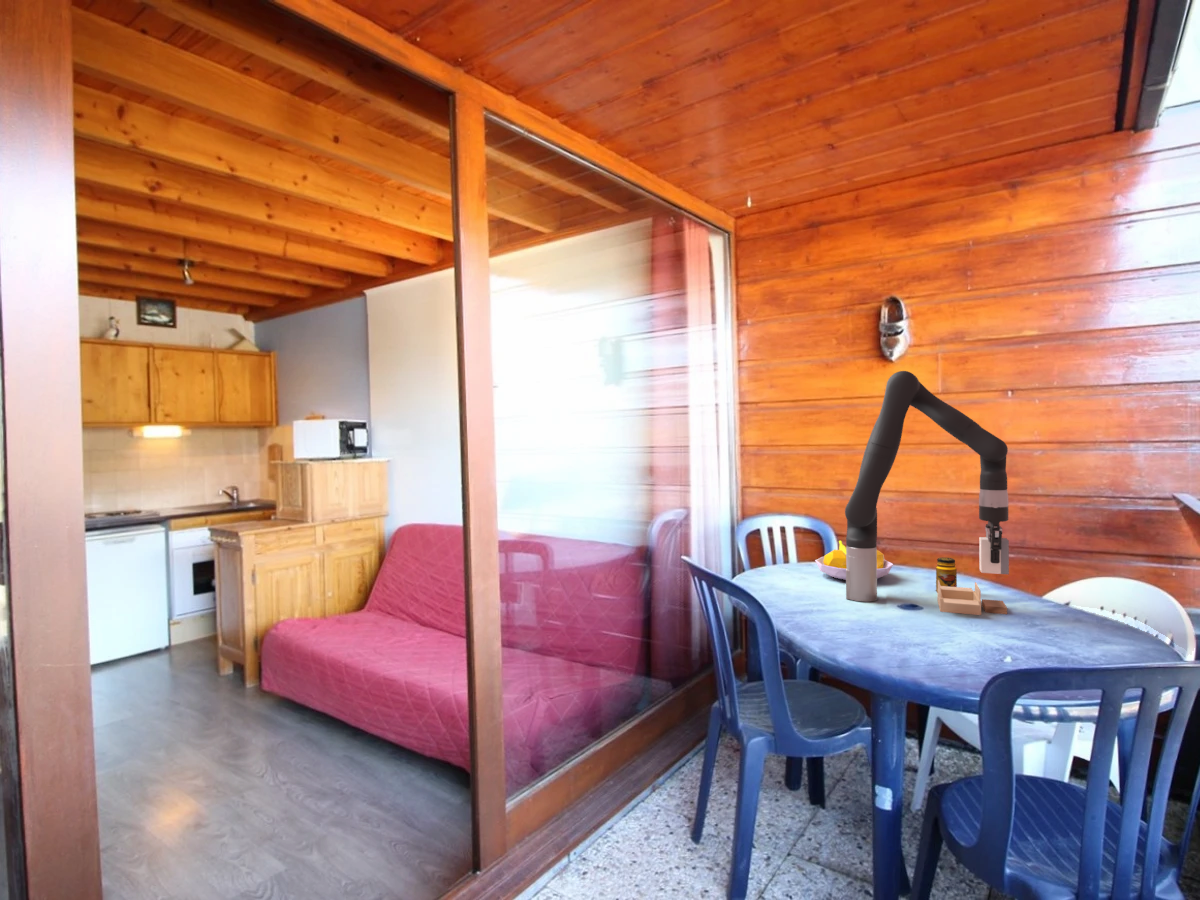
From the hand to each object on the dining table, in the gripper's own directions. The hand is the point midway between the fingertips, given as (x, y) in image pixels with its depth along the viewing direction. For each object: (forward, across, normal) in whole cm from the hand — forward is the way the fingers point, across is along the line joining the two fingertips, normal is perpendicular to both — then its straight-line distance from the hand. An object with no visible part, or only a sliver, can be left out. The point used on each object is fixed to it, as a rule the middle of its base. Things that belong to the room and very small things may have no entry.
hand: (993, 561), depth 193 cm
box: (+3, 0, 0) cm, 3 cm away
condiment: (+16, -18, -12) cm, 27 cm away
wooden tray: (+15, +1, -9) cm, 18 cm away
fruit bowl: (+16, -34, -41) cm, 55 cm away
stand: (+15, 0, 0) cm, 15 cm away
